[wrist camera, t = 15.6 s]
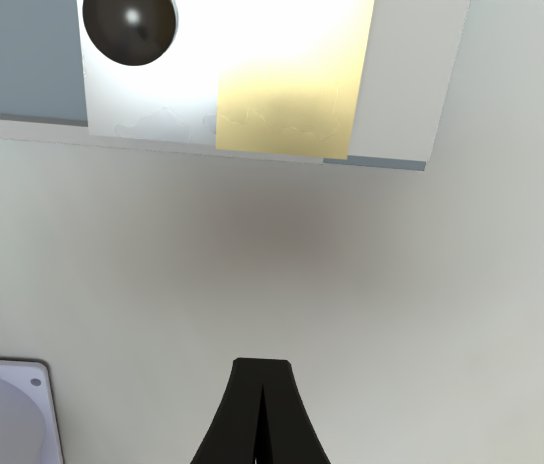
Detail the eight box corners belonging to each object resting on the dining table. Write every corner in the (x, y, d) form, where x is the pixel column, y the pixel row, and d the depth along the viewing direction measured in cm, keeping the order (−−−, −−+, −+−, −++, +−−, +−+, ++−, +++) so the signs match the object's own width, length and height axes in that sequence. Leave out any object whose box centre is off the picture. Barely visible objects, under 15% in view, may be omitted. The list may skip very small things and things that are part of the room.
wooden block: (328, 107, 18) (346, 159, 14) (227, 99, 18) (215, 148, 14) (356, -88, 16) (391, -99, 11) (237, -101, 15) (225, -117, 11)
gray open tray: (417, 161, 21) (447, 206, 17) (-154, 113, 19) (-245, 151, 16) (492, -146, 16) (556, -170, 12) (-266, -233, 15) (-433, -286, 11)
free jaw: (227, 116, 18) (218, 152, 15) (114, 106, 18) (82, 141, 15) (237, -117, 15) (230, -132, 12) (99, -133, 15) (54, -151, 12)
